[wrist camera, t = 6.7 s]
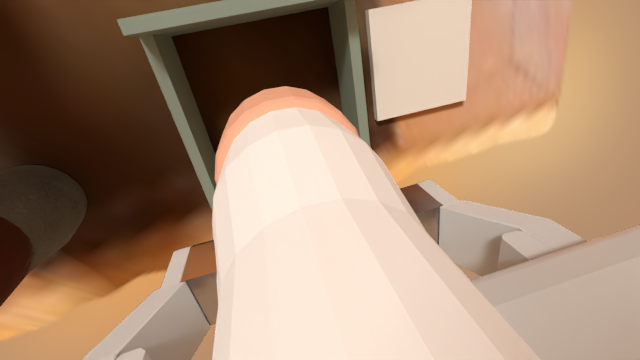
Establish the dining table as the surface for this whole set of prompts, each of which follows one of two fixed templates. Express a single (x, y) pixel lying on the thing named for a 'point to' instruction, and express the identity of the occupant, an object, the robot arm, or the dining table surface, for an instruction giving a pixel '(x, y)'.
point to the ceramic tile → (418, 55)
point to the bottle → (35, 219)
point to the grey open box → (237, 7)
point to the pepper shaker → (332, 249)
